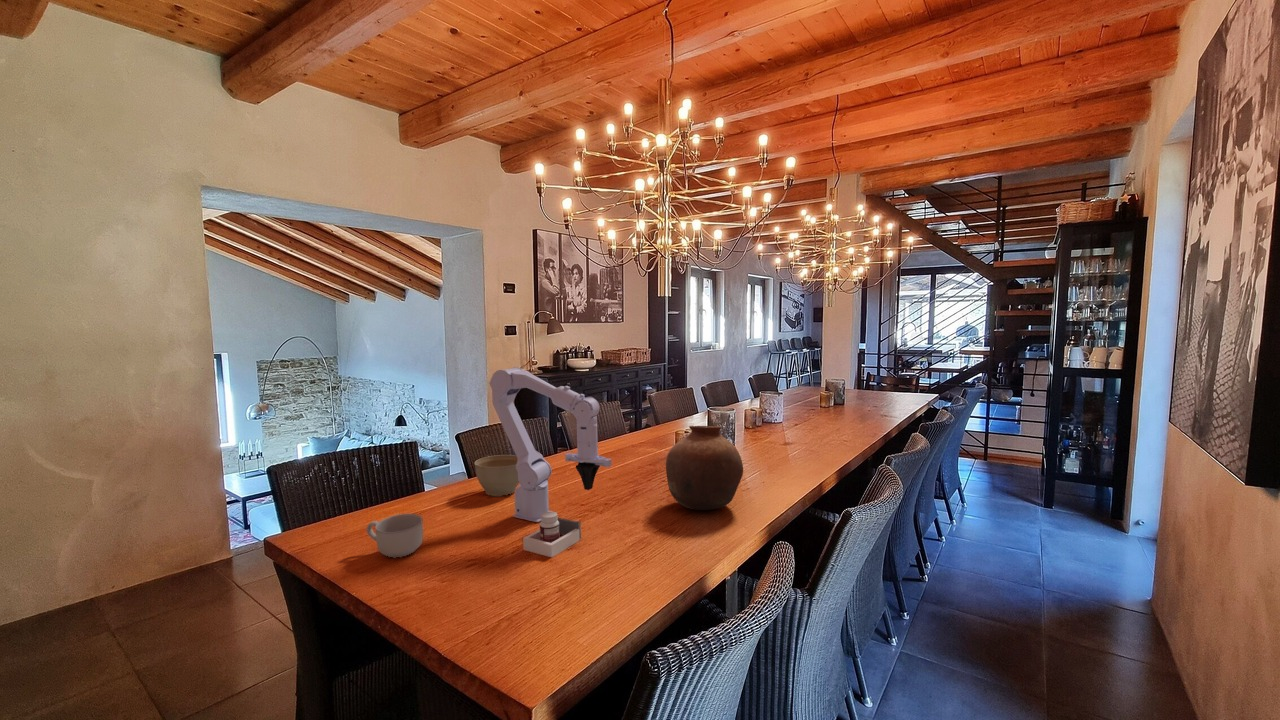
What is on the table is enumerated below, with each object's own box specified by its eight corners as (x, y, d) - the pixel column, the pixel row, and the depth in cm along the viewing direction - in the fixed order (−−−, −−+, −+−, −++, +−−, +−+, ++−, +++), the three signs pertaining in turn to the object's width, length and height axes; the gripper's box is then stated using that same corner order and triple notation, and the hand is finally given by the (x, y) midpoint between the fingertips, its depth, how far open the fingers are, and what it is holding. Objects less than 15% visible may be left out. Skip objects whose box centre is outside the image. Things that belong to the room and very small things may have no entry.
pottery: (689, 526, 144) (688, 436, 143) (653, 500, 165) (652, 422, 164) (758, 513, 153) (758, 428, 152) (716, 490, 175) (715, 415, 173)
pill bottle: (541, 543, 135) (540, 511, 134) (559, 542, 135) (558, 510, 135) (540, 551, 130) (539, 518, 129) (559, 550, 131) (558, 517, 130)
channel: (523, 549, 131) (523, 538, 131) (552, 534, 140) (551, 523, 140) (551, 557, 126) (551, 545, 126) (579, 540, 136) (579, 529, 136)
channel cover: (581, 537, 137) (581, 521, 137) (579, 539, 136) (579, 522, 136) (554, 532, 141) (554, 516, 141) (552, 533, 140) (552, 517, 140)
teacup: (433, 546, 134) (432, 515, 133) (401, 565, 124) (399, 532, 123) (390, 539, 138) (388, 510, 138) (355, 557, 128) (354, 525, 128)
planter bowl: (519, 500, 168) (518, 467, 167) (468, 501, 168) (467, 467, 167) (530, 484, 184) (529, 454, 183) (484, 485, 184) (483, 454, 183)
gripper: (557, 441, 148) (559, 489, 149) (600, 447, 140) (601, 496, 141) (573, 436, 154) (574, 482, 155) (615, 441, 146) (616, 489, 147)
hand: (588, 488), depth 148 cm, fingers closed
